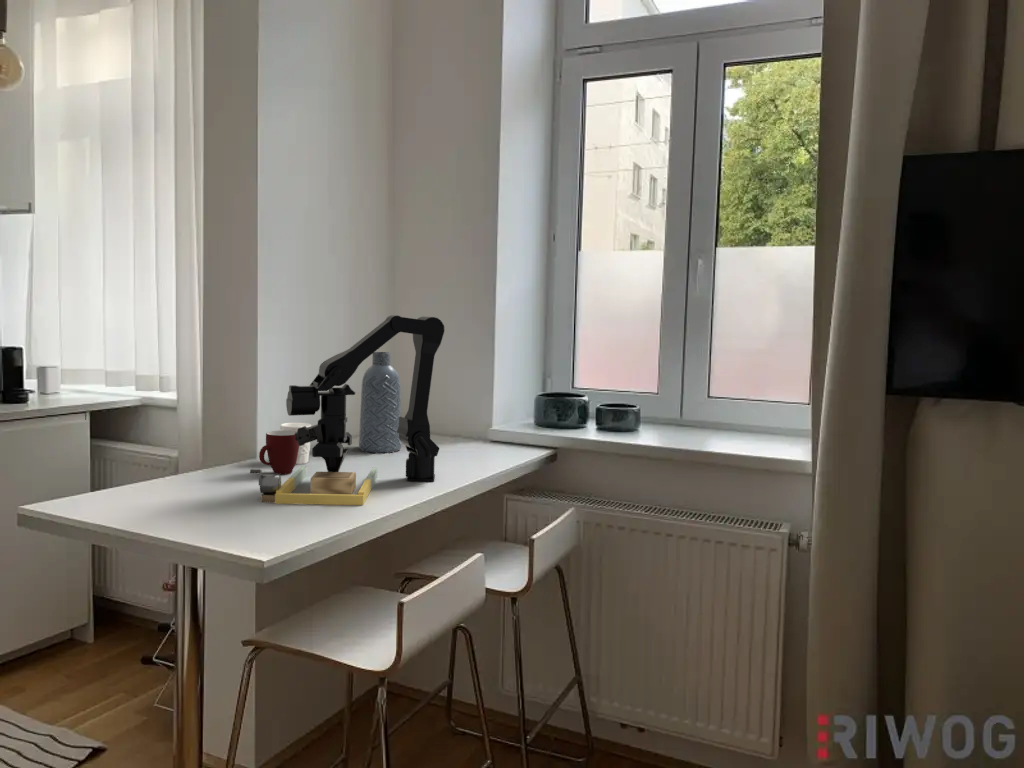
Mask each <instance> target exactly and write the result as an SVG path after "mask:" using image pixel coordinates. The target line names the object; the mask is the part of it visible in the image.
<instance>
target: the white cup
mask: <svg viewBox="0 0 1024 768" xmlns="http://www.w3.org/2000/svg"><path fill="white" fill-rule="evenodd" d="M304 426H306V427H307V428H308V427H311V426H312V424H311V423H308V422H285V423H281V424H280V426H279V427H280V429H279V431H283V430H286V431H298V428H302V427H304ZM310 451H311V442H308V443H305V444H304V445H302V446H299V451H298V456H297V461H296V464H295V465H304V464H307V463H309V461H310Z"/></svg>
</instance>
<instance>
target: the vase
mask: <svg viewBox="0 0 1024 768" xmlns="http://www.w3.org/2000/svg"><path fill="white" fill-rule="evenodd" d="M391 358H392V357H391V352H389V351H386V352H385V351H375V352H374V353H373V354H372V364H371V366H369V367H368V368H367V370H365V372H364V373H363V376H362V381H361V393H360V395H361V396H360V414H359V432H358V433H359V434H358V435H359V436H358V448H359V450H360V451H362V452H367V453H372V454H373V453H374V454H379V453H380V454H387V453H395V452H398V451H401V449H402V442H401V441H400V439H399V433H397V430H398V427H399V417H400V416H401V417H402V405H401V403H402V399H401V380H400V375H399V373H398V372H397V370H396V369H395V368H394V367H393V366H392V365H391Z"/></svg>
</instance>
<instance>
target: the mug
mask: <svg viewBox="0 0 1024 768" xmlns="http://www.w3.org/2000/svg"><path fill="white" fill-rule="evenodd" d="M296 432H297V431H286V430H283V431H281V430H270V431H267V432H266V433H265V445H263V446H262V447H261V448H260V450H259V455H258V457H259V460H260V463H261V464H263V465H264V466H265V465H266V466H270V467H271V469H272V471H273V473H274V475H289V474H291V473H292V472H293V471H294V468H295V466H296V465H297V464H296V461H297V456H298V451H299V444H298V442H297V441H296V440H295V433H296ZM266 452H267V459H268V462H267V461H266V459H265V454H266Z"/></svg>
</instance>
